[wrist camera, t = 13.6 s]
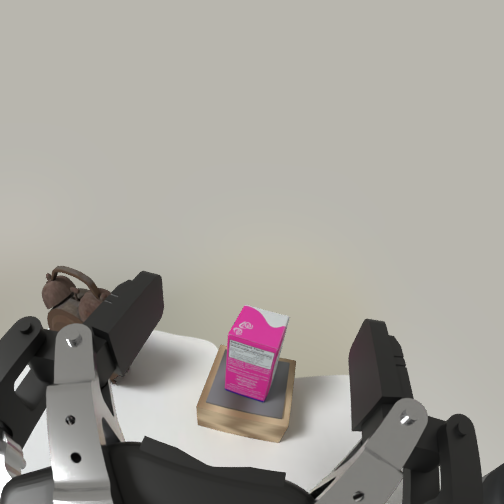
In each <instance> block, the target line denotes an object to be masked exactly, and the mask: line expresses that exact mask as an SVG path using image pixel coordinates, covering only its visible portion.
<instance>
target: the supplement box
mask: <svg viewBox="0 0 504 504" xmlns="http://www.w3.org/2000/svg"><path fill="white" fill-rule="evenodd" d="M288 321H289V316H286V315H282V314H278V313H274V312H270V311H266V310H262V309H259V308H256V307H253V306H249V305H245V306H244V307H243V309H242V311H241V313H240V314H239V316H238V318H237V320H236V321H235V323H234V325H233V327H232V328H231V330H230V332H229V334H228V345H227V360H226V376H225V390H227V391H230V392H232V393H235V394H238V395H241V396H244V397H247V398H250V399H253V400H256V401H259V402H262V403H264V402H265V400H266V398H267V395H268V393H269V390H270V387H271V385H272V382H273V379H274V376H275V371H276V368H277V364H278V360H279V356H280V352H281V349H282V344H283V341H284V337H285V333H286V329H287V325H288Z"/></svg>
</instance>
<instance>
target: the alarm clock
mask: <svg viewBox="0 0 504 504" xmlns="http://www.w3.org/2000/svg"><path fill="white" fill-rule="evenodd" d="M58 272H62V273H66V274H68V275H71V276H73V277H76V278H78V279H79V280H81V281H82V282H84V283H85V284H86V285H87V286H88V287H89V289H90V290H87V289H81V288H80V289H79V288H78V289H77V288H76V286H75V285H74V284H73V282H72V281H71V280H70V279H69V278H67V277H65V276H57V273H58ZM46 278H47V280H48V281H47V282H46V284H45V286H44V288H43V290H42V298H43V301H44V303H45V305H46V307H47V309H50V308H52V307H53V308H52V309H51V311H50V312H49V313H48V318H47V319H48V325H49V328H50V330H53V331H60V330H61V329H62V328H63V327H65V326H67V325H70V324H74V323H79V324H82V323H83V322H84V321H85V320H86V319H87V318H88V317H89V316H90V315H91V314H92V313H93V311H94V310H95V309H96V308H97V307H98V306H99V305H100V304H101V303H102V302H103V301H105V299H106V298H107V297H108V295H111V293H110V292H109V291H108V290H105V289H102V288H97V286H96V285H95V283H94V282H93V281H92V280H91V278H89V277H88V276H86V275H85V274H83V273H82V272H79V271H77V270H74V269H72V268H69V267H65V266H57V267H56V268H55V269H54V270H53V271H52V276H51V275H50V274H49V273H48V274H46ZM128 370H129V368H128ZM117 376H118V374H115V373H113V374H112V375H111V377H110V378H109V379H110V380H111V381H112V383H113V384H116V381H114V379H115V378H116V377H117Z"/></svg>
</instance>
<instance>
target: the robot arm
mask: <svg viewBox="0 0 504 504" xmlns="http://www.w3.org/2000/svg"><path fill="white" fill-rule="evenodd" d="M163 309H164V301H163V290H162V279H161V276H160V275H158V274H154V273H149V272H146V271H142V272H140V273H139V274H138V275H137V276H136V277H135V279H133V281H131V280H128V281H126V282H124V283H122V284H120V285H118V286H117V287H116V288H115V289H114V290H113V291H112V292H111V295H108V297H107V298H106V299H105V301H103V302H102V303H101V304H100V305H99V306H98V307H97V308H96V309H95V310H94V311H93V313H92V314H91V315H90V316H89V317H88V318H87V319H86V320H85V321H84V322H83V323H82V324H79V323H74V324H70V325H67V326H65V327H63V328H62V329H61V330H60V331H53V330H47V329H43V327H42V325H41V322H40V321H39V320H38V319H37V318H36V317H32V316H28V317H24V318H22V319H20V320H18V321H17V322H16V323H15V324H14V325H13V326H12V327H11V328H10V329H9V331H8V332H7V333H6V334H5V335H4V336H3V337H2V338H1V340H0V504H385V503H386V501H387V500H388V499H389V497H390V496H391V495H392V493H393V492H394V490H395V489H396V487H397V486H398V484H399V483H400V481H401V480H402V478H403V500H402V504H504V463H503V464H502V465H500V466H499V467H497V468H496V469H495V470H493V471H491V472H490V473H488V474H487V475H485V476H484V477H482V474H481V465H480V457H479V451H478V445H477V439H476V434H475V429H474V426H473V423H472V422H471V420H470V419H469V418H468V417H466V416H465V415H463V414H455V415H453V416H451V417H450V418H449V419H448V420H447V421H443V420H440V419H436V418H433V417H430V416H428V415H427V411H426V409H425V408H424V406H423V405H422V404H421V403H420V402H418V401H417V400H414V398H413V394H412V389H411V385H410V381H409V376H408V372H407V368H406V367H405V366H406V364H405V360H404V359H403V353H402V349H401V346H400V344H399V343H398V341H397V340H396V339H395V337H394V336H390V335H388V331H387V327H386V324H385V322H383V321H378V320H372V319H365V320H364V322H363V324H362V326H361V328H360V330H359V332H358V334H357V336H356V338H355V340H354V342H353V344H352V347H351V349H350V353H349V375H350V392H351V418H352V431H362V438H361V439H360V440H359V441H358V443H357V444H356V445H355V446H354V447H353V449H352V450H351V451H350V452H349V453H348V454H347V455H346V457H345V458H344V459H343V460H342V461H341V462H340V463H339V464H338V465H337V466H336V467H335V469H334V470H333V471H332V472H331V473H330V474H329V475H328V476H326V477H325V478H324V479H323V480H322V481H321V482H320V483H318V484H317V485H316V486H315V487H314V488H313V489H312V490H311V491H310V492H306V491H305V490H304V489H302V488H301V487H299V486H298V485H296V484H294V483H292V482H290V481H287V480H285V476H286V473H285V472H277V471H270V470H264V469H258V468H253V467H212V466H209V465H206V464H205V463H203V462H201V461H199V460H197V459H195V458H194V457H192V456H190V455H188V454H187V453H185V452H183V451H182V450H180V449H178V448H176V447H173V446H170V445H167V444H165V443H162V442H159V441H157V440H154V439H152V438H149V437H147V436H145V437H144V439H143V441H142V443H141V442H125V439H124V436H123V433H122V431H121V428H120V426H119V423H118V419H117V414H116V410H115V405H114V399H113V394H112V388H111V382H110V379H109V378H110V377H111V375H112V374H113V373H115V374H118V375H120V376H122V377H123V376H124V374H125V373H126V371H127V370H128V368H129V367H130V365H131V363H132V362H133V360H134V359H135V357H136V356H137V354H138V353H139V351H140V349H141V348H142V346H143V345H144V343H145V342H146V340H147V339H148V337H149V336H150V334H151V333H152V331H153V330H154V328H155V327H156V325H157V323H158V322H159V321H160V319H161V317H162V314H163ZM27 364H28V365H29V367H30V368H31V370H30V371H29V372H28V374H27V375H26V376H25V378H24V379H23V381H22V382H21V384H20V385H19V386H18V388H17V389H16V391H14V383H15V381H16V379H17V378H18V376H19V375H20V374H21V372H22V371H23V370H24V368H25V367H26V366H27ZM45 409H47V429H48V441H49V450H50V458H51V465H52V466H50V467H47V468H43V469H40V470H37V471H33V472H30V473H26V474H22V475H21V469H24V468H25V467H26V461H25V459H24V458H23V451H22V449H23V447H24V445H25V443H26V442H27V440H28V438H29V436H30V434H31V433H32V431H33V429H34V427H35V426H36V424H37V422H38V421H39V419H40V417H41V415H42V414H43V412H44V410H45ZM439 466H440V471H441V490H440V485H439ZM402 468H403V472H402V471H401V469H402Z"/></svg>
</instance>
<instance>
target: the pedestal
mask: <svg viewBox="0 0 504 504" xmlns="http://www.w3.org/2000/svg"><path fill="white" fill-rule="evenodd" d="M226 360H227V346H224V345H220V348H219V350H218V353H217V355H216V358H215V360H214V363H213V366H212V368H211V371H210V373H209V376H208V378H207V381H206V384H205V386H204V389H203V391H202V394H201V396H200V399H199V401H198V404H197V420H198V425H200V426H204V427H207V428H211V429H215V430H219V431H223V432H227V433H231V434H235V435H239V436H244V437H249V438H254V439H259V440H264V441H270V442H276V443H279V442H280V440H281V438H282V437H283V435H284V433H285V431H286V430H287V428H288V424H289V417H290V409H291V401H292V393H293V385H294V376H295V366H296V361H294V360H289V359H283V358H279V360H278V364H277V368H276V371H275V376H274V379H273V382H272V385H271V387H270V390H269V393H268V395H267V398H266V400H265V402H264V403H262V402H259V401H256V400H253V399H250V398H247V397H244V396H241V395H238V394H235V393H232V392H230V391H227V390H225V376H226Z"/></svg>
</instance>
